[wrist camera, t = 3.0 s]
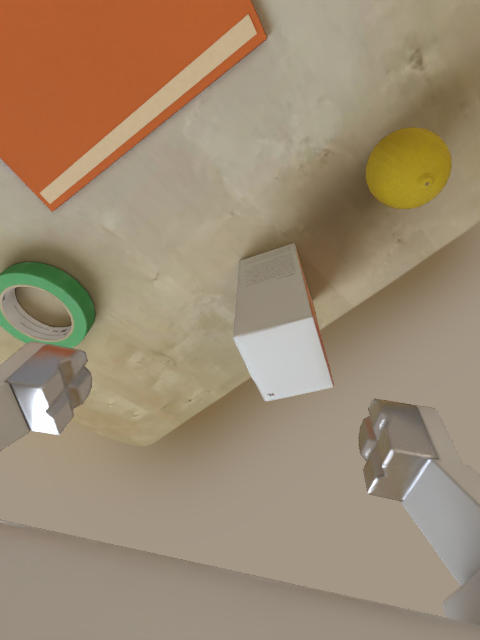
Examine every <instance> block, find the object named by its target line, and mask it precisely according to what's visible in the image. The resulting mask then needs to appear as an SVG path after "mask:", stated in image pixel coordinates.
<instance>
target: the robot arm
mask: <svg viewBox="0 0 480 640" xmlns="http://www.w3.org/2000/svg"><path fill="white" fill-rule="evenodd" d="M87 362H88V359H87V356H86V353H85V352H84V351H82V350H78V349H73V348H68V347H63V346H58V345H52V344H45V343H40V342H35V341H32V342H29V343H26V344H25V345H24V346H23V347H22V348H20V349H19V350H18V351H17V352H16V353H14V354H13V355H12V356H11V357H10V358H9V359H7V360H6V361H5V362H4V363H3V364H1V365H0V451H1V450H3V449H4V448H6V447H7V446H9V445H11V444H12V443H14V442H15V441H17V440H18V439H20V438H22V437H23V436H25V435H26V434H28V433H29V432H30V430H31V431H37V432H44V433H50V434H56V435H60V433H61V432H62V431H63V430H64V428H65V427H66V425H67V424H68V423H69V422H70V420H71V419H72V418H73V416H74V413H73V409H74V408H76V407H78V406H79V405H81V404H83V403H84V401H85V400H86V398H87V397H88V395H89V393H90V390H91V387H92V376H91V372H90V371H89V370H88V369H87V368H86V367H85V364H86V363H87ZM368 410H369V414H370V416H369V417H367V418H365V419H363V421H362V424H361V427H360V432H359V449H360V454H361V455H362V457H363V458H364V459H365V460H366V461H367V463H366V465H365V467H364V469H363V472H364V477H365V483H366V488H367V493H368V494H370V495H374V496H378V497H384V498H388V499H392V500H397V501H402V504H403V506H404V507H405V509H406V510H407V511H408V513H409V514H410V516H411V517H412V518H413V520H414V521H415V523H416V524H417V525H418V527H419V528H420V530H421V531H422V533H423V534H424V535H425V537H426V538H427V540H428V541H429V542H430V544H431V545H432V547H433V548H434V550H435V551H436V552H437V554H438V555H439V556H440V558H441V559H442V561H443V562H444V564H445V565H446V566H447V568H448V569H449V571H450V572H451V573H452V575H453V576H454V578H455V579H456V581H457V582H458V583H459V585H460V587H459V588H458V589H457V590H456V591H454V592H453V593H452V594H451V595H449V596H448V597H447V598H446V599H445V601H444V602H443V603H442V605H443V608H444V612H445V615H446V617H441V616H437V615H432V614H428V613H423V612H419V611H414V610H410V609H405V608H400V607H396V606H391V605H387V604H382V603H378V602H373V601H369V600H364V599H360V598H355V597H350V596H346V595H341V594H337V593H332V592H327V591H323V590H319V589H314V588H309V587H305V586H300V585H295V584H291V583H286V582H282V581H278V580H273V579H268V578H264V577H259V576H255V575H250V574H246V573H241V572H237V571H232V570H228V569H223V568H218V567H214V566H209V565H204V564H200V563H195V562H191V561H187V560H182V559H178V558H173V557H168V556H164V555H159V554H155V553H150V552H146V551H141V550H136V549H132V548H127V547H123V546H118V545H114V544H109V543H105V542H100V541H95V540H91V539H86V538H81V537H77V536H73V535H67V534H63V533H59V532H55V531H50V530H45V529H41V528H36V527H31V526H27V525H23V524H18V523H13V522H9V521H4V520H0V640H480V474H478V473H477V472H476V471H475V470H474V469H473V468H472V467H471V466H469V465H464V464H463V463H462V461H461V459H460V457H459V455H458V453H457V451H456V448H455V446H454V444H453V442H452V440H451V438H450V436H449V434H448V431H447V430H446V427H445V425H444V423H443V421H442V419H441V417H440V415H439V412H438V411H437V410H436V409H435V408H432V407H426V406H425V407H424V406H418V405H411V404H405V403H399V402H393V401H386V400H380V399H374V400H373V401H372V402H371V403H370V405H369V408H368Z"/></svg>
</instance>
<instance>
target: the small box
mask: <svg viewBox="0 0 480 640" xmlns="http://www.w3.org/2000/svg"><path fill="white" fill-rule="evenodd" d="M233 339H234V341H235V343H236V346H237V348H238V350H239V352H240V354H241V356H242V358H243V360H244V362H245V364H246V366H247V369H248V371H249V373H250V375H251V377H252V379H253V380H254V382H255V383H256V385H257V387H258V389H259V391H260V393H261V395H262V397H263V399H264V400H265V401H270V400H276V399H280V398H286V397H290V396H295V395H300V394H304V393H309V392H313V391H318V390H323V389H327V388H331V387H334V383H333V379H332V375H331V371H330V367H329V364H328V360H327V356H326V352H325V348H324V345H323V341H322V337H321V334H320V329H319V325H318V321H317V317H316V313H315V309H314V305H313V301H312V299H311V296H310V292H309V289H308V286H307V283H306V279H305V276H304V272H303V269H302V265H301V262H300V259H299V255H298V252H297V248H296V245H295V243H292V244H289V245H286V246H283V247H280V248H277V249H274V250H271V251H268V252H265V253H262V254H258V255H255V256H252V257H249V258H247V259H243V260H240V261H239V272H238V284H237V295H236V308H235V320H234V333H233Z"/></svg>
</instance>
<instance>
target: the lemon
mask: <svg viewBox="0 0 480 640" xmlns="http://www.w3.org/2000/svg"><path fill="white" fill-rule="evenodd" d="M451 167H452V166H451V155H450V153H449V150H448V148H447V145H446V144H445V143H444V142H443V140H442V139H441V138H440V137H439V136H438V135H437V134H435V133H433V132H431V131H429V130H427V129H423V128H416V127H412V128H404V129H400V130H398V131H395V132H392V133H391V134H389V135H388V136H386V137H385V138H383V139H382V140H381V141H380V142H379V143H378V144H377V145H376V146H375V148H374V149H373V151H372V152H371V154H370V156H369V159H368V161H367V166H366V182H367V185H368V187H369V190H370V192H371V193H372V194H373V195H374V197H375V198H376V199H377V200H378V201H380V202H381V203H383V204H384V205H386V206H389V207H393V208H397V209H411V208H415V207H419V206H421V205H424V204H426V203H428V202H429V201H430V200H432V199H433V198H435V197H436V196H437V195H438V194H439V193H440V192H441V190H442V189H443V187H444V186H445V184H446V183H447V180H448V178H449V176H450V172H451Z"/></svg>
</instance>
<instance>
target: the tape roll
mask: <svg viewBox="0 0 480 640" xmlns="http://www.w3.org/2000/svg"><path fill="white" fill-rule="evenodd" d="M16 287H32V288H36V289H39V290H42V291H44V292H46V293H48V294H50V295H51V296H53V297H54V298H56V299H57V300H58V301H59V302H60V303H61V304H63V306H64V307H65V309H66V310H67V311H68V313H69V315H70V317H71V321H72V325H71V326H68V327H53V326H48V325H45V324H43V323H41V322H39V321H37V320H35V319H34V318H32V317H31V316H30V315H29V314H27V313H26V312H25V311H24V310H23V309H22V308H21V306H20V305H19V303H18V301H17V299H16V296H15V288H16ZM94 319H95V308H94V305H93V302H92V300H91V298H90V296H89V294H88V293H87V291H86V290H85V289H84V288H83V286H82V285H81V284H80V283H79V282H78V281H76V280H75V279H74V278H73V277H71V276H70V275H68V274H67V273H65V272H64V271H62V270H60V269H58V268H55V267H53V266H50V265H47V264H43V263H38V262H22V263H17V264H14V265H12V266H10V267H9V268H7V269H6V270H4V271H3V272H2V273H1V274H0V325H1V326H2V327H3V328H4V329H5V330H6V331H7V332H9V333H10V334H11V335H13V336H14V337H16V338H18V339H19V340H21V341H23V342H25V343H29V342H32V341H35V342H40V343H45V344H52V345H58V346H63V347H68V348H72V347H74V346H76V345H78V344H79V343H80V342H81V341H82V340H83V339H84V337H85V336H86V334H87V333H88V331H89V330H90V328H91V327H92V325H93V323H94Z"/></svg>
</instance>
